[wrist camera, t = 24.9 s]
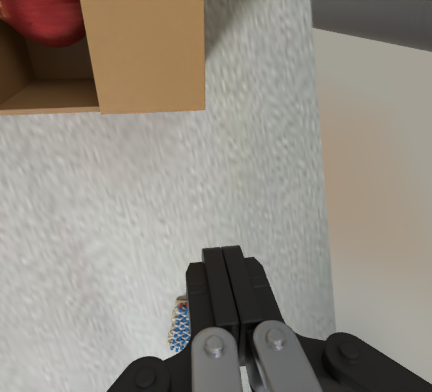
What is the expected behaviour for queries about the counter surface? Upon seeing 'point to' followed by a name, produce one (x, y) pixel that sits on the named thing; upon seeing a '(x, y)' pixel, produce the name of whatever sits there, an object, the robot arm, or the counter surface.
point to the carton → (44, 76)
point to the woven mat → (180, 327)
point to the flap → (147, 54)
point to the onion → (45, 20)
